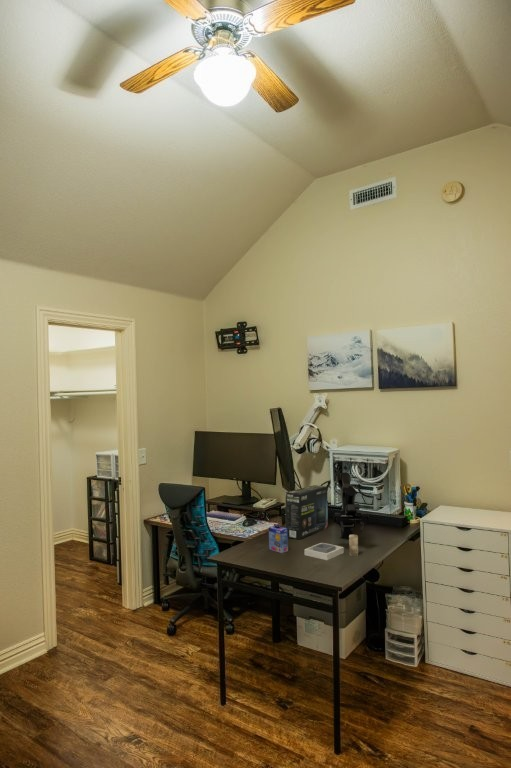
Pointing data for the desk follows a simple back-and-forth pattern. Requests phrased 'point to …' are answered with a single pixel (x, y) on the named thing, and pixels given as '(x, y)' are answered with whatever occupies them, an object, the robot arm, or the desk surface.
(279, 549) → the ink cartridge box
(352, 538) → the beige domed cylinder
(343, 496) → the robot arm
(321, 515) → the router box
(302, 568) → the desk surface
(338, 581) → the desk surface
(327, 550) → the housing
